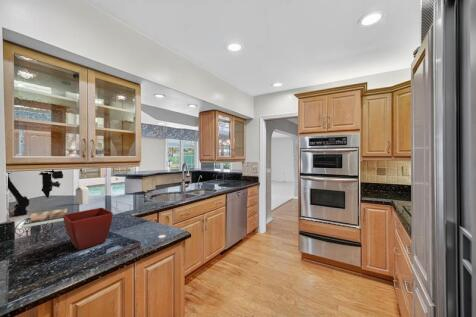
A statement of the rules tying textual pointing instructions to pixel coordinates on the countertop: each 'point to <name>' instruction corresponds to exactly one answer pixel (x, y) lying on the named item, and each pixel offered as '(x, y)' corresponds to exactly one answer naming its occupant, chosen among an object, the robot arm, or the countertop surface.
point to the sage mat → (42, 222)
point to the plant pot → (88, 227)
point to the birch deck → (48, 212)
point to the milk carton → (82, 195)
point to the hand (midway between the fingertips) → (47, 197)
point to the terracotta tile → (38, 218)
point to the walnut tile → (56, 215)
